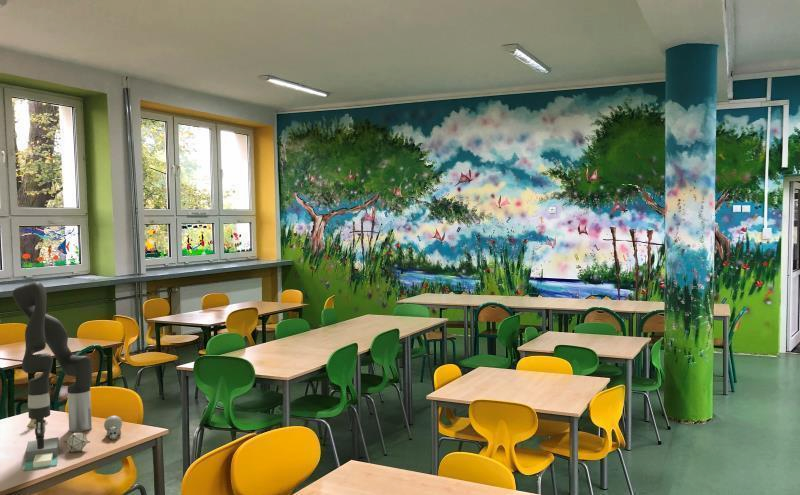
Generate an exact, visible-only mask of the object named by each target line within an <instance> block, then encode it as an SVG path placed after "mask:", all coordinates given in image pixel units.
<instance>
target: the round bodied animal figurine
mask: <svg viewBox="0 0 800 495" xmlns="http://www.w3.org/2000/svg"><path fill="white" fill-rule="evenodd" d="M122 426H123V420H122V418H121V417H119V416H118V415H110V416H109V417H107V418H105V421H104V422H103V427H104V429H105V431H106V436H107V437H110V439H111V440H113V441H114V440H117V438H118V436H120V435H121V434H122Z"/></svg>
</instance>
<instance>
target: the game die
mask: <svg viewBox="0 0 800 495" xmlns="http://www.w3.org/2000/svg"><path fill="white" fill-rule="evenodd" d="M71 432H72V433H71V435H70V436H69V437H68V438H67V440H66V441H65V440H63V443H66V446H67V447H68V449H69V453H70V454H71V452H80V453H83V449H84V448H85V447H86V445H87V444H89V443H91V441H89V440H88V439H87V437H86V435H85V433H86V430H85V431H82V432H73V431H71Z"/></svg>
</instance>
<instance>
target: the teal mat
mask: <svg viewBox="0 0 800 495" xmlns="http://www.w3.org/2000/svg"><path fill="white" fill-rule="evenodd" d="M24 462H25V463H24V467H23V471H24V472H26V471H34V470H37V469H38V470H39V469H46V468H51V467H56V466H57V465H58V457H53V459H52V463H51V465H48V466H41V467H34V468H33V461H27V462H26V461H24Z"/></svg>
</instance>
